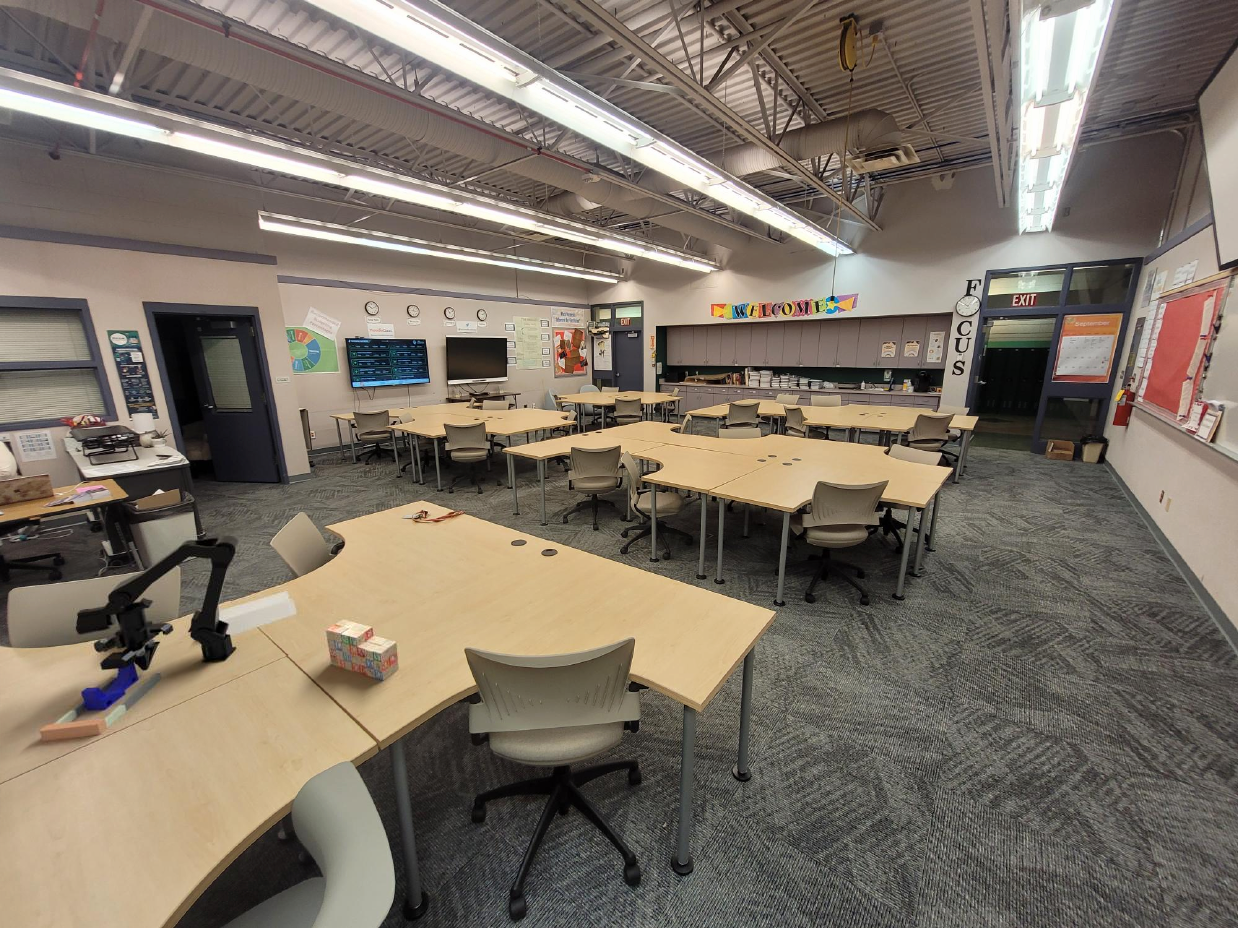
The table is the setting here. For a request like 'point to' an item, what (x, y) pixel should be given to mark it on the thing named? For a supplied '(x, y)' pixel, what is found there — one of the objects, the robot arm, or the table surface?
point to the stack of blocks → (361, 650)
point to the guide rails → (96, 726)
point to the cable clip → (110, 690)
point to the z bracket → (257, 613)
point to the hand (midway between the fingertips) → (145, 669)
